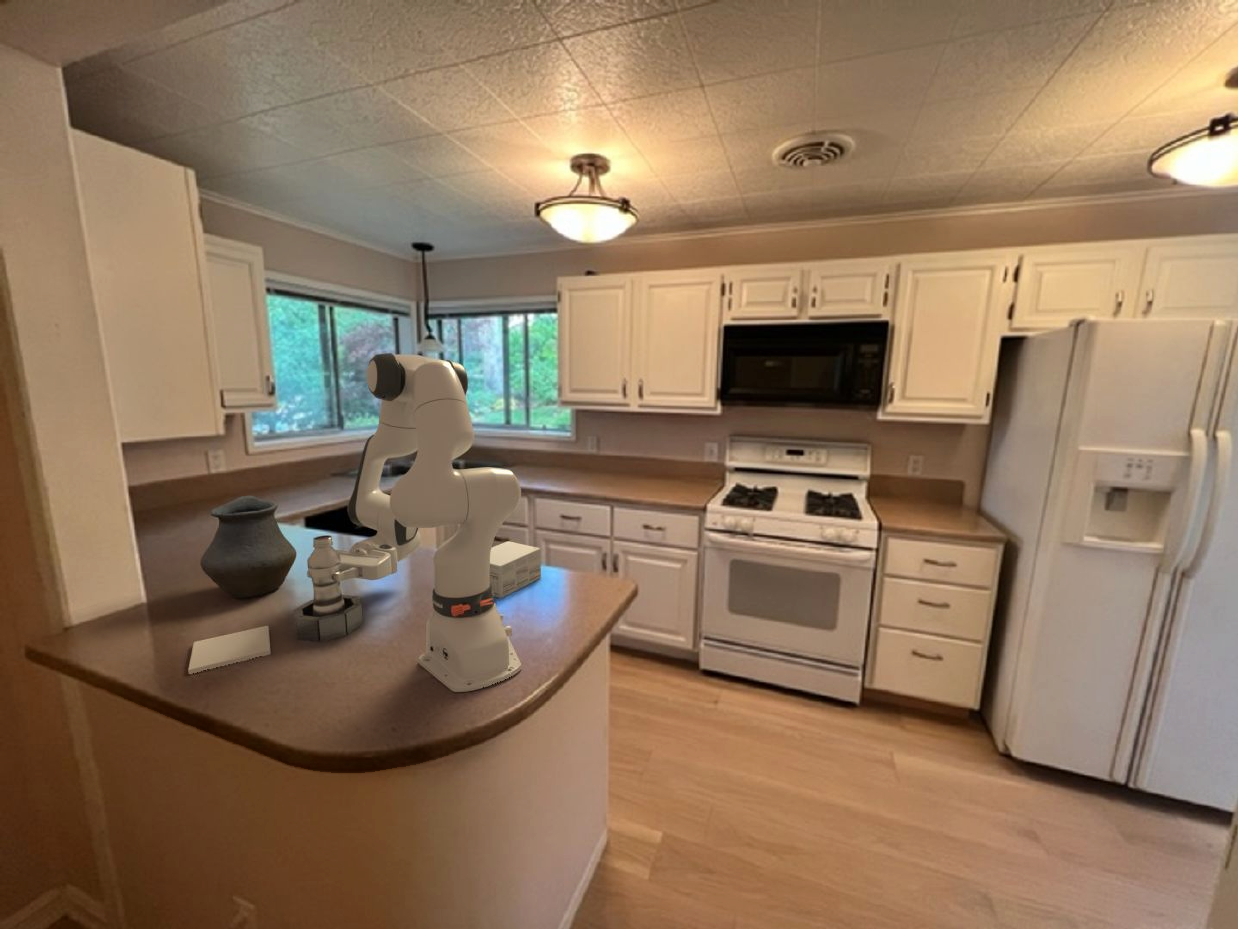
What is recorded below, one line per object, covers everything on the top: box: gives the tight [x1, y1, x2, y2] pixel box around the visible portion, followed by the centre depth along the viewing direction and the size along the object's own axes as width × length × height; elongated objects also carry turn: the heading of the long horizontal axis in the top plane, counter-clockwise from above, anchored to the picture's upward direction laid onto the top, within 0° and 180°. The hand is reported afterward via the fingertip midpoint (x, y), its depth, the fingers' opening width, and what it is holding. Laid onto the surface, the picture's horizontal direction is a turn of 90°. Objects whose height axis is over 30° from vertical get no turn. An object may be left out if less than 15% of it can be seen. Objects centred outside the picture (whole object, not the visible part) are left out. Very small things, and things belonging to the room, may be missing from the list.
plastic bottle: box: [307, 534, 346, 617], centre depth 114 cm, size 6×7×20 cm
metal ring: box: [293, 594, 364, 643], centre depth 116 cm, size 13×13×5 cm
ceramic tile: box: [187, 625, 272, 675], centre depth 105 cm, size 13×13×1 cm
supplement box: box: [490, 540, 542, 599], centre depth 143 cm, size 17×13×9 cm
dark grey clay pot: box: [199, 495, 297, 600], centre depth 134 cm, size 21×22×25 cm
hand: (322, 576), depth 113 cm, fingers closed on plastic bottle, 6 cm apart
